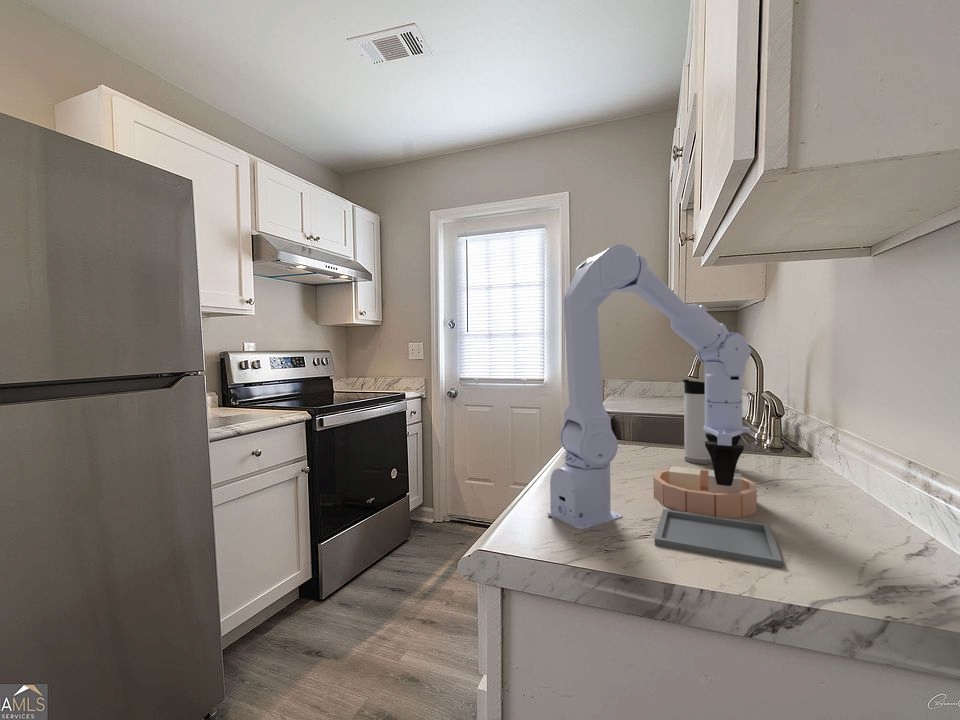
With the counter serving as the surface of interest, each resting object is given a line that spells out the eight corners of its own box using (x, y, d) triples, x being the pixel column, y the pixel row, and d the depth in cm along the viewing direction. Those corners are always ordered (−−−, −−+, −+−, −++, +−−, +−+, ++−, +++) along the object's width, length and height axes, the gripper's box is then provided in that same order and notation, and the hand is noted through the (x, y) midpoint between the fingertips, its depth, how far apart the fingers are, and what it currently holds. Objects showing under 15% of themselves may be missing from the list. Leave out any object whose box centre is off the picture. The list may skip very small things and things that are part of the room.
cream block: (669, 497, 78) (669, 471, 78) (670, 490, 82) (670, 466, 82) (700, 501, 76) (700, 474, 76) (700, 494, 79) (700, 469, 79)
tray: (781, 570, 53) (781, 561, 53) (654, 547, 60) (654, 538, 60) (769, 532, 64) (769, 524, 64) (663, 516, 71) (663, 508, 71)
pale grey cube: (708, 502, 75) (708, 475, 75) (709, 495, 79) (709, 470, 79) (742, 506, 73) (742, 479, 73) (741, 499, 76) (741, 473, 76)
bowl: (720, 527, 67) (720, 501, 66) (636, 497, 80) (635, 476, 80) (775, 507, 75) (775, 484, 74) (689, 483, 88) (689, 464, 88)
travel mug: (679, 457, 110) (679, 378, 109) (707, 458, 109) (707, 378, 108) (688, 464, 103) (687, 380, 103) (717, 464, 102) (717, 380, 102)
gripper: (753, 407, 67) (754, 494, 68) (746, 398, 80) (747, 471, 80) (702, 405, 71) (703, 488, 71) (703, 396, 83) (704, 466, 84)
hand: (723, 478), depth 76 cm, fingers open, 7 cm apart
